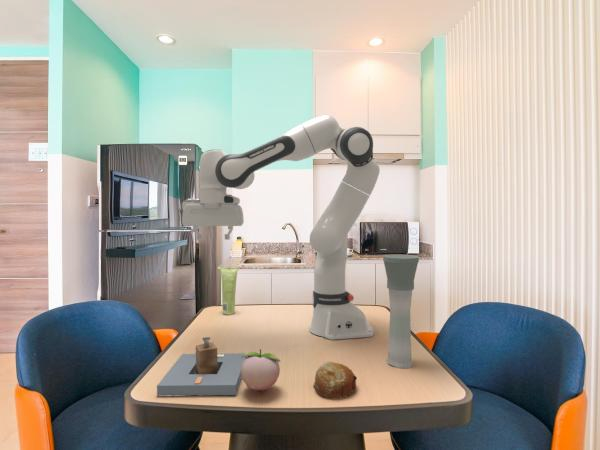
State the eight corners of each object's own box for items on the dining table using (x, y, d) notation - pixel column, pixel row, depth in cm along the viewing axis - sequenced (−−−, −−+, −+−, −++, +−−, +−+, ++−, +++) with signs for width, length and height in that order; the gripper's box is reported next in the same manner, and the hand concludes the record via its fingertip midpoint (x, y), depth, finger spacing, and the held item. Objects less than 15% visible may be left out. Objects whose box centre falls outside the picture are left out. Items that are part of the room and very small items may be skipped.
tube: (232, 310, 149) (232, 265, 148) (238, 313, 145) (237, 267, 145) (220, 313, 146) (220, 267, 145) (226, 316, 142) (225, 268, 141)
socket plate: (246, 362, 97) (246, 352, 97) (235, 395, 79) (235, 383, 79) (182, 362, 97) (182, 352, 97) (157, 396, 79) (156, 384, 79)
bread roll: (318, 393, 88) (304, 365, 87) (354, 374, 89) (341, 347, 88) (325, 415, 78) (310, 385, 77) (365, 394, 79) (350, 363, 78)
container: (411, 355, 102) (412, 254, 101) (422, 370, 92) (423, 258, 91) (378, 355, 102) (379, 254, 101) (386, 370, 92) (387, 258, 91)
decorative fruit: (237, 401, 77) (237, 357, 77) (243, 383, 85) (243, 343, 85) (279, 401, 77) (279, 357, 77) (281, 383, 85) (281, 343, 85)
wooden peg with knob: (213, 372, 91) (212, 333, 91) (217, 379, 88) (217, 338, 87) (196, 376, 89) (195, 336, 89) (200, 383, 85) (199, 341, 85)
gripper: (179, 198, 113) (179, 240, 114) (241, 198, 114) (241, 240, 114) (185, 199, 120) (185, 238, 120) (244, 199, 120) (244, 238, 120)
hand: (213, 239), depth 117 cm, fingers open, 8 cm apart
